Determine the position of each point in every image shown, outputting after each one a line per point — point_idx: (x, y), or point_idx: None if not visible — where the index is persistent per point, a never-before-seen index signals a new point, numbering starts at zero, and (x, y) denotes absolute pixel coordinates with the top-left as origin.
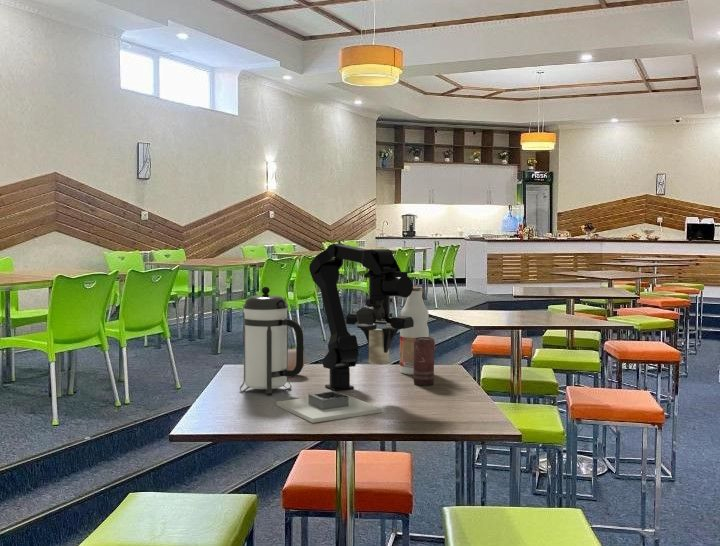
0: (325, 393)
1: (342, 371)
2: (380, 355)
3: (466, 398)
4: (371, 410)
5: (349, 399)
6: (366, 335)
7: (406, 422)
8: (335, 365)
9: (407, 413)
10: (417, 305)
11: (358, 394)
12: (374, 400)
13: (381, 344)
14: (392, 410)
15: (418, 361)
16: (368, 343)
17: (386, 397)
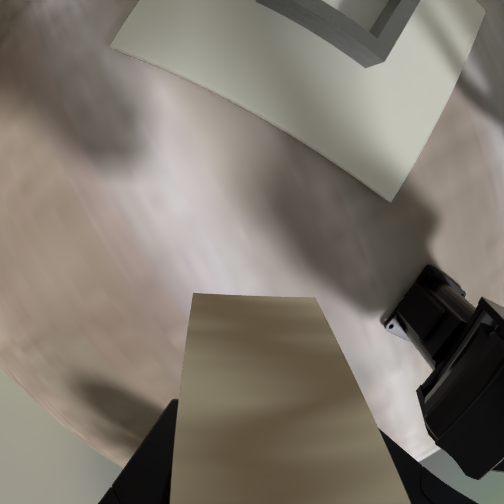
0: (391, 16)
1: (448, 324)
2: (196, 343)
3: (32, 369)
4: (138, 4)
5: (315, 107)
6: (443, 497)
7: (10, 17)
8: (485, 310)
9: (35, 101)
10: None
11: (342, 265)
12: (238, 208)
13: (174, 443)
14: (92, 100)
15: None
16: (388, 440)
17: (220, 278)
